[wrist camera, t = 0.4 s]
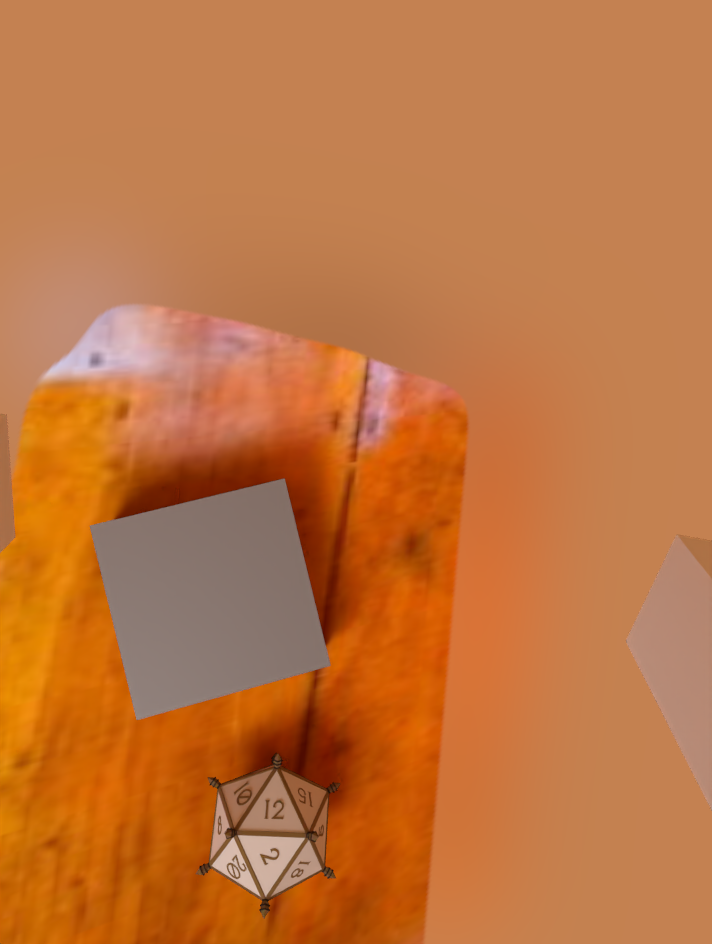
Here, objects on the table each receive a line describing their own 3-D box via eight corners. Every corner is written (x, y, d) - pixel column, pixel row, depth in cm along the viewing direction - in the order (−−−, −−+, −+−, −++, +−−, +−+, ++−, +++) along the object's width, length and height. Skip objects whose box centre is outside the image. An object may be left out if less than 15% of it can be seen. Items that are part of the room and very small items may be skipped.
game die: (281, 799, 47) (271, 960, 39) (186, 757, 44) (153, 925, 36) (365, 747, 44) (373, 912, 36) (270, 697, 40) (255, 867, 32)
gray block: (325, 646, 44) (330, 665, 40) (153, 694, 43) (136, 720, 38) (284, 480, 45) (284, 478, 40) (112, 522, 43) (89, 525, 38)
